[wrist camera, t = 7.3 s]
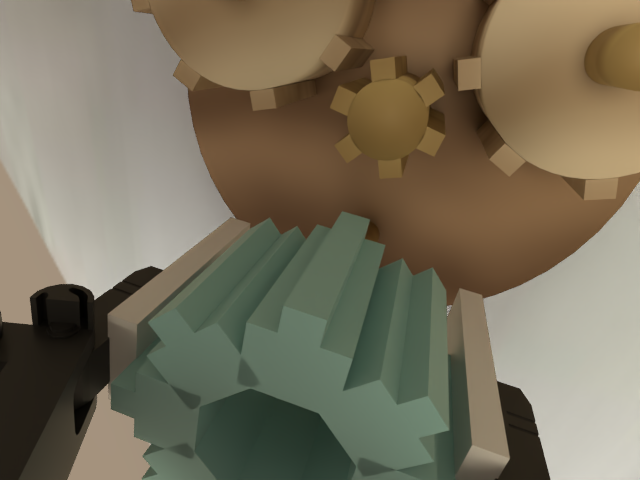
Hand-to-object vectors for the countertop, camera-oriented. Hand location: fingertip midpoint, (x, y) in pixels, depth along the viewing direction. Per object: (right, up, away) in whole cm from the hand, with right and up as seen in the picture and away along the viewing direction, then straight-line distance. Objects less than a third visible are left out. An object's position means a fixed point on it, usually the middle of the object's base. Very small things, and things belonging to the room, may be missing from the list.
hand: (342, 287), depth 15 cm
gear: (-1, -1, -2) cm, 2 cm away
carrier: (+3, +8, +3) cm, 9 cm away
